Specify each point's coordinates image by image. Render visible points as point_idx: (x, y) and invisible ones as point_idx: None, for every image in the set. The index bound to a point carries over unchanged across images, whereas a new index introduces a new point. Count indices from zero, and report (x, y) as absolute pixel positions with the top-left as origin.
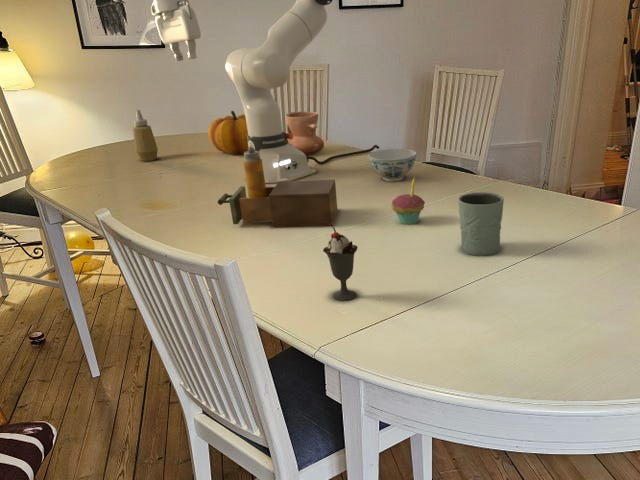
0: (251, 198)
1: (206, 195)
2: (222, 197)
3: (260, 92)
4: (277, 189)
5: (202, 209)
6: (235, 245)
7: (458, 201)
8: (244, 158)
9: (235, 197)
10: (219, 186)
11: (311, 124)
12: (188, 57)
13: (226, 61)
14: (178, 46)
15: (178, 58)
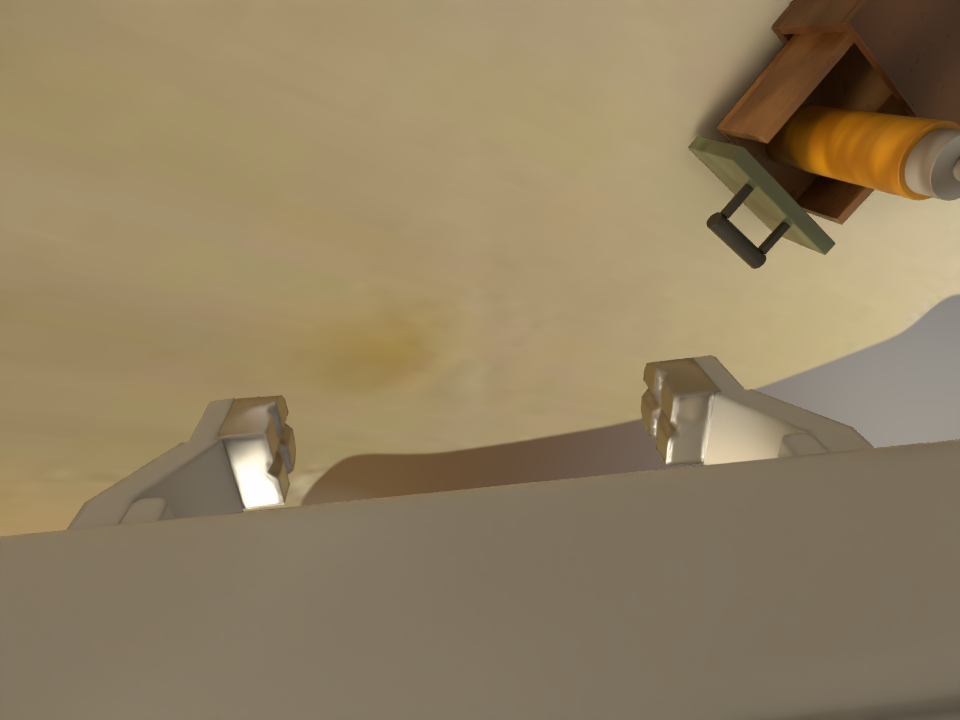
0: (872, 191)
1: (369, 168)
2: (749, 247)
3: None
4: (923, 90)
5: (533, 243)
6: (875, 277)
7: None
8: (920, 193)
9: (820, 228)
10: (258, 64)
11: None
12: (647, 431)
13: None
14: (170, 512)
15: (291, 457)
